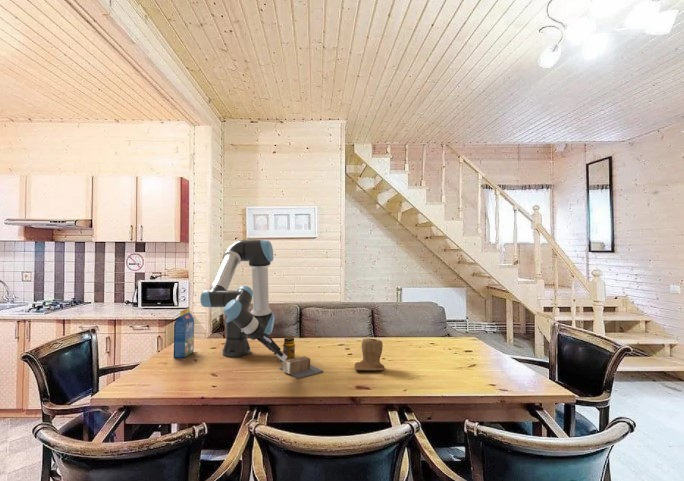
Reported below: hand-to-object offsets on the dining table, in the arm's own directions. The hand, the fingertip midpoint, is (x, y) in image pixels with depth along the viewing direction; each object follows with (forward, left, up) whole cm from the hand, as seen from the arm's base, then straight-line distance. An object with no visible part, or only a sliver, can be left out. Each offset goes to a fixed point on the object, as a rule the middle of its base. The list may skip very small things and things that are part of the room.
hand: (284, 358), depth 167 cm
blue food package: (-62, -27, -8) cm, 68 cm away
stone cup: (+19, +37, -8) cm, 42 cm away
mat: (0, +9, -7) cm, 12 cm away
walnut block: (0, +1, -4) cm, 4 cm away
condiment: (-17, +12, -8) cm, 22 cm away
